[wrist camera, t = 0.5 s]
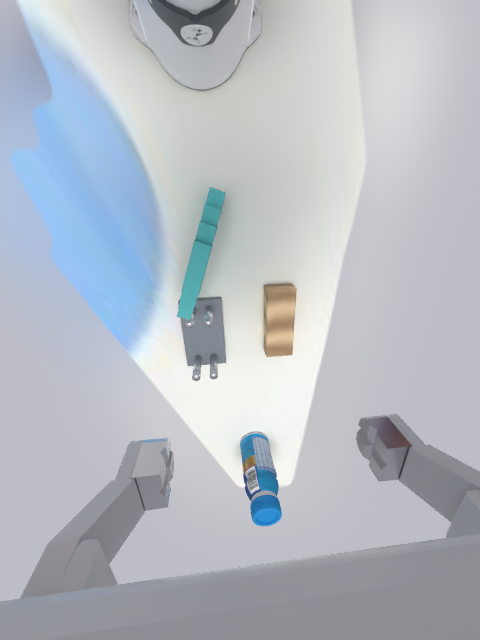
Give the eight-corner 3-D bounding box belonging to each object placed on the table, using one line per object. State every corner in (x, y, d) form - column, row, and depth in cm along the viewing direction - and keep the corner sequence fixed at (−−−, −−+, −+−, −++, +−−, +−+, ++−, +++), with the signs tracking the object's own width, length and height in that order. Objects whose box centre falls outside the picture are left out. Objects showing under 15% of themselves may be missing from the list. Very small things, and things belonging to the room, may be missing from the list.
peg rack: (179, 299, 54) (172, 316, 46) (220, 297, 54) (222, 312, 46) (188, 362, 60) (184, 386, 52) (225, 359, 61) (227, 382, 53)
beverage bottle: (268, 429, 72) (286, 503, 54) (268, 449, 75) (285, 526, 57) (239, 432, 71) (247, 508, 53) (240, 453, 75) (248, 531, 56)
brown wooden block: (264, 284, 55) (267, 290, 51) (290, 283, 55) (296, 288, 51) (263, 348, 61) (266, 356, 58) (287, 346, 62) (292, 354, 58)
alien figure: (195, 295, 54) (186, 338, 36) (185, 292, 53) (170, 334, 35) (222, 197, 47) (228, 189, 29) (211, 192, 46) (209, 182, 28)
